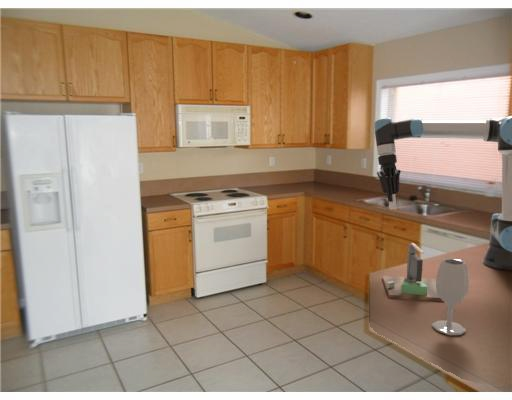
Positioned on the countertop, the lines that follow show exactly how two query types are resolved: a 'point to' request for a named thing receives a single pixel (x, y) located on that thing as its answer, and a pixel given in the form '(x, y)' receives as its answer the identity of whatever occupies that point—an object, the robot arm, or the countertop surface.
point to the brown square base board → (396, 293)
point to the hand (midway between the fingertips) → (393, 209)
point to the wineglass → (451, 292)
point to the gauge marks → (410, 287)
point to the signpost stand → (414, 264)
